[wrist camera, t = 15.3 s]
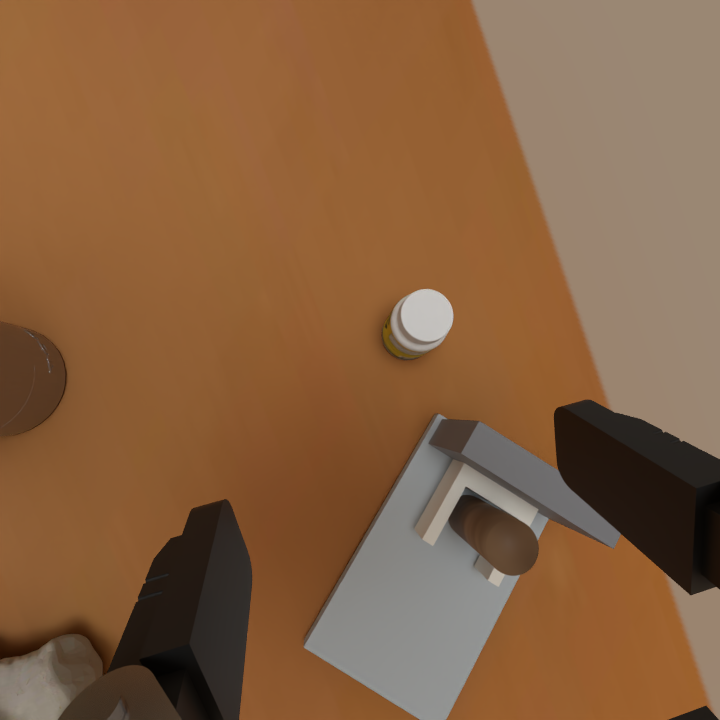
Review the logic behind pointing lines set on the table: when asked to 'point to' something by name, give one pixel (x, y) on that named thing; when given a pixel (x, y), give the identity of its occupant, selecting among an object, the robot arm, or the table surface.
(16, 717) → the ceramic sculpture
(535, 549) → the dowel
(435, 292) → the supplement bottle
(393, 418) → the table surface
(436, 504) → the cradle
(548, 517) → the board with wall
